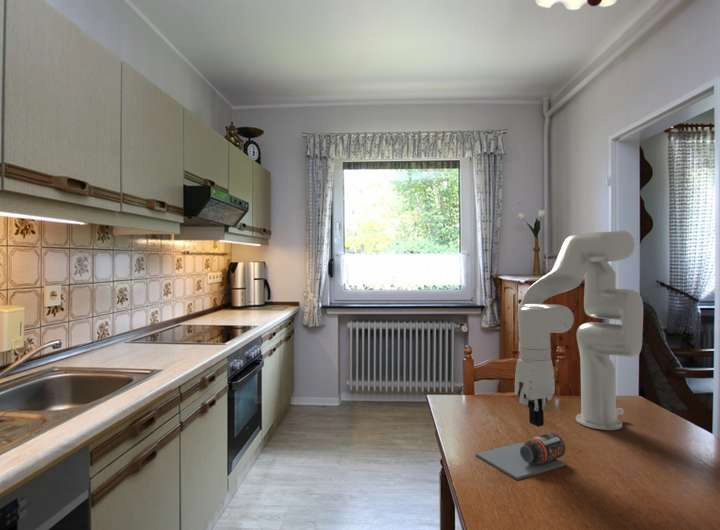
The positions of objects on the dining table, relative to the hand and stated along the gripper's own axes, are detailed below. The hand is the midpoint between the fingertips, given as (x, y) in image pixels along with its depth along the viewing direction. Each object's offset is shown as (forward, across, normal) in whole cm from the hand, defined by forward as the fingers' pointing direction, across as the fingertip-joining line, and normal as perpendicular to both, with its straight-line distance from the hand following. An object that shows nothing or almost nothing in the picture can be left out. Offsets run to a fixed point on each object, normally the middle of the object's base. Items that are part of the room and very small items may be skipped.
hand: (536, 424), depth 108 cm
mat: (+8, +6, 0) cm, 10 cm away
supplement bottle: (+4, -3, +3) cm, 6 cm away
